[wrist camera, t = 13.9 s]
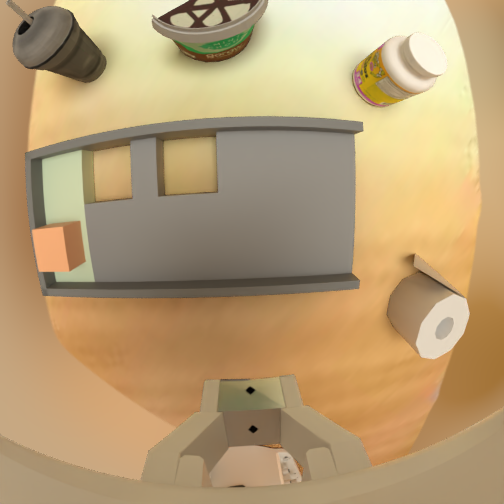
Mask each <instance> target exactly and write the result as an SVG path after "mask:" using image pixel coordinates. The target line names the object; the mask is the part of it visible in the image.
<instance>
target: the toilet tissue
mask: <svg viewBox="0 0 504 504" xmlns="http://www.w3.org/2000/svg"><path fill="white" fill-rule="evenodd" d="M413 266H414V267H416V268H418V269H419V270H421V271H423V272H424V273H426V274H428V275H429V276H431V277H429V276H427V275H424V274H422V273H419V272H418V273H416V274H413V275H411V276H409V277H406V278H404V279H402V281H401V282H400V283H399V285H398V286H397V287H396V289H395V290H394V291H393V292H392V294H391V295H390V299H389V304H388V310H387V316H388V318H389V320H390V322H391V324H392V326H393V327H394V328H395V330H396V331H397V332H398V333H399V334H400V335H401V336H402V337H403V338H404V339H405V340H406V341H407V342H408V343H409V345H410V346H411V347H412V348H413V349H414V350H415V351H416V352H417V353H418V354H419V355H420V357H423V358H430V359H436V358H438V357H439V356H441V355H443V354H445V353H446V352H448V351H450V350H451V349H452V348H453V346H454V345H455V344H456V343H457V341H458V340H459V339H460V337H461V336H462V335H463V333H464V331H465V328H466V324H467V321H468V318H469V309H468V305H467V300H466V298H465V297H464V296H463V295H462V294H461V293H460V292H458V291H457V290H456V289H455V288H454V287H453V286H452V285H451V284H450V283H449V282H448V281H446V280H445V279H444V278H443V277H442V276H441V275H440V274H439V273H437V272H436V271H435V270H434V269H433V268H432V267H431V266H429V265H428V264H427V263H426V262H425V261H424V260H422V259H421V258H420V257H419V256H418V255H416V254H415V258H414V265H413Z"/></svg>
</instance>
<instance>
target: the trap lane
mask: <svg viewBox="0 0 504 504" xmlns="http://www.w3.org/2000/svg"><path fill="white" fill-rule="evenodd" d="M362 131H363V122H358V121H348V120H338V119H325V118H308V117H276V116H256V117H224V118H207V119H194V120H183V121H173V122H165V123H157V124H150V125H143V126H136V127H130V128H124V129H118V130H113V131H108V132H103V133H98V134H93V135H89V136H84V137H80V138H76V139H72V140H68V141H64V142H60V143H57V144H53V145H49V146H46V147H43V148H39V149H36V150H33V151H30V152H26V153H25V172H26V192H27V206H28V216H29V224H30V232H31V239H32V245H33V251H34V257H35V262H36V267H37V272H38V277H39V281H40V285H41V289H42V293H43V296H61V297H94V298H196V297H231V296H256V295H277V294H294V293H310V292H324V291H338V290H350V289H359V284H360V280H359V279H358V278H357V277H356V276H354V275H353V274H352V264H353V248H354V228H355V140H354V134H356V133H359V132H362ZM210 136H216V145H217V177H218V192H203V193H187V194H173V195H165V187H164V163H163V141H164V140H174V139H184V138H196V137H210ZM127 145H130V151H131V180H132V197H133V198H127V199H117V200H108V201H100V202H95V189H94V168H93V151H97V150H103V149H108V148H114V147H120V146H127ZM72 221H80V222H81V231H82V239H83V246H84V253H85V260H86V262H84V263H83V264H81V265H79V266H78V267H76V268H75V269H73V270H71V271H70V272H39V270H38V265H37V259H36V254H35V248H34V241H33V234H32V230H33V229H36V228H39V227H42V226H45V225H48V224H53V223H62V222H72Z"/></svg>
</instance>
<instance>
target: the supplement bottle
mask: <svg viewBox="0 0 504 504" xmlns="http://www.w3.org/2000/svg"><path fill="white" fill-rule="evenodd" d="M446 69H447V59H446V55H445V53H444V51H443V49H442V48H441V46H440V45H439V44H438V43H437V42H436V41H435V40H434V39H433V38H432V37H430V36H428V35H426V34H424V33H419V32H418V33H413V34H412V35H410V36H409V37H405V36H395V37H392V38H390V39H389V40H387V41H386V42H385V43H384V44H382V45H381V46H380V47H379V48H377V49H376V50H375V51H374V52H372V53H371V54H370V55H369V56H368V57H366V58H365V59H364V60H363V61H362V62H360V63H359V64H358V65H357V66H356V68H355V70H354V73H353V83H354V86H355V88H356V90H357V92H358V94H359V95H360V96H361V97H362V98H363V99H364V100H365V101H367V102H368V103H370V104H372V105H375V106H379V107H384V106H389V105H391V104H394V103H397V102H399V101H402V100H404V99H407V98H409V97H412V96H414V95H417V94H420V93H423V92H425V91H427V90H429V89H430V88H432V86H433V85H434V83H435V81H436V77H438V76H440V75H442V74H443V73H445V71H446Z"/></svg>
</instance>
